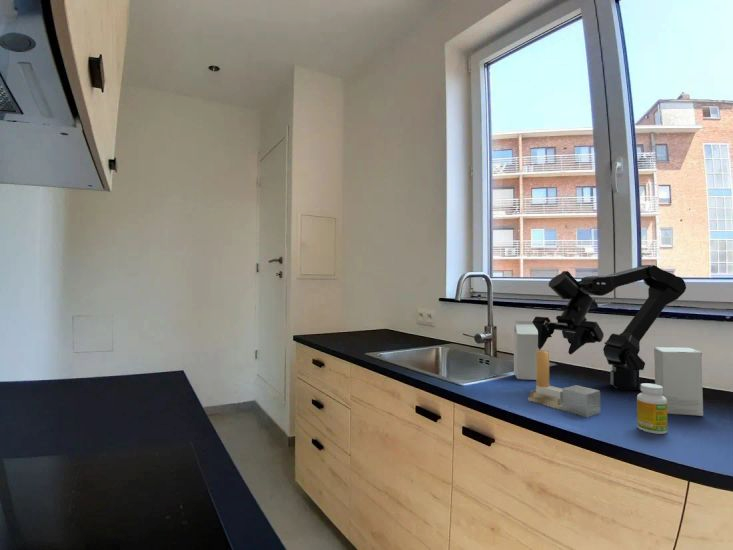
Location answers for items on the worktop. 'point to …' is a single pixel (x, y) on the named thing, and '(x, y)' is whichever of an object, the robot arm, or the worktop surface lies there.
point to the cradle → (545, 400)
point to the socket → (581, 400)
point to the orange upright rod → (545, 377)
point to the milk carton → (525, 350)
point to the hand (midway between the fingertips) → (553, 350)
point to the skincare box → (680, 379)
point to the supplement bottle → (652, 409)
